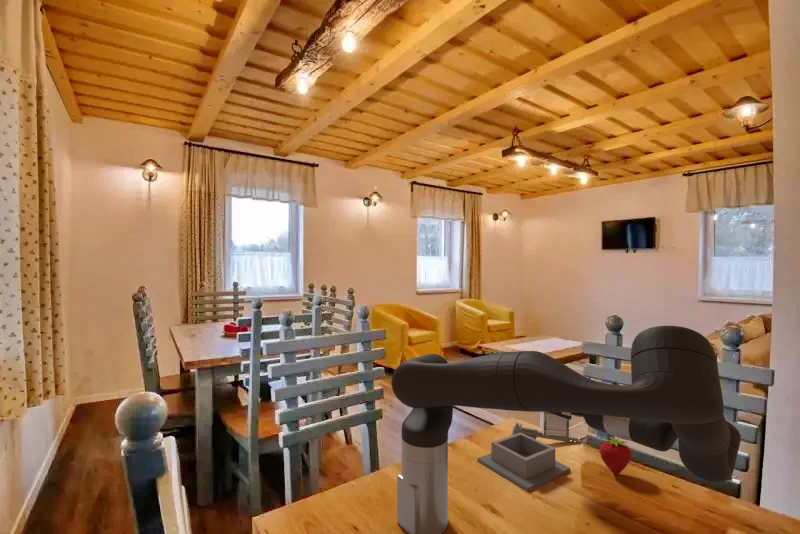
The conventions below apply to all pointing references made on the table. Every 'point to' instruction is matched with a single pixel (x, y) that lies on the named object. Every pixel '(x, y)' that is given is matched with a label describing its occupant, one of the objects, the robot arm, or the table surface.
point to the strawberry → (615, 455)
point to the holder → (523, 461)
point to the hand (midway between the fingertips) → (547, 394)
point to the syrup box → (553, 425)
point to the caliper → (540, 434)
